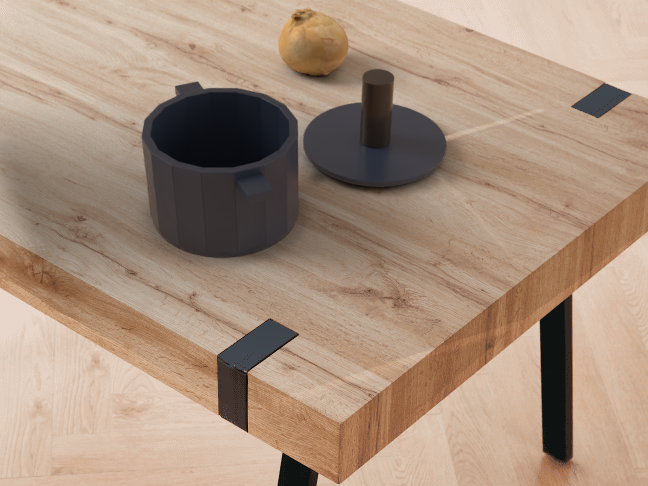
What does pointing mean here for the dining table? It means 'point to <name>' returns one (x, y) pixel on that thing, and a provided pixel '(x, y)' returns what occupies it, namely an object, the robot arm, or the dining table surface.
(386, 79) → the lid
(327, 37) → the onion
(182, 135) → the pot
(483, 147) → the dining table surface
